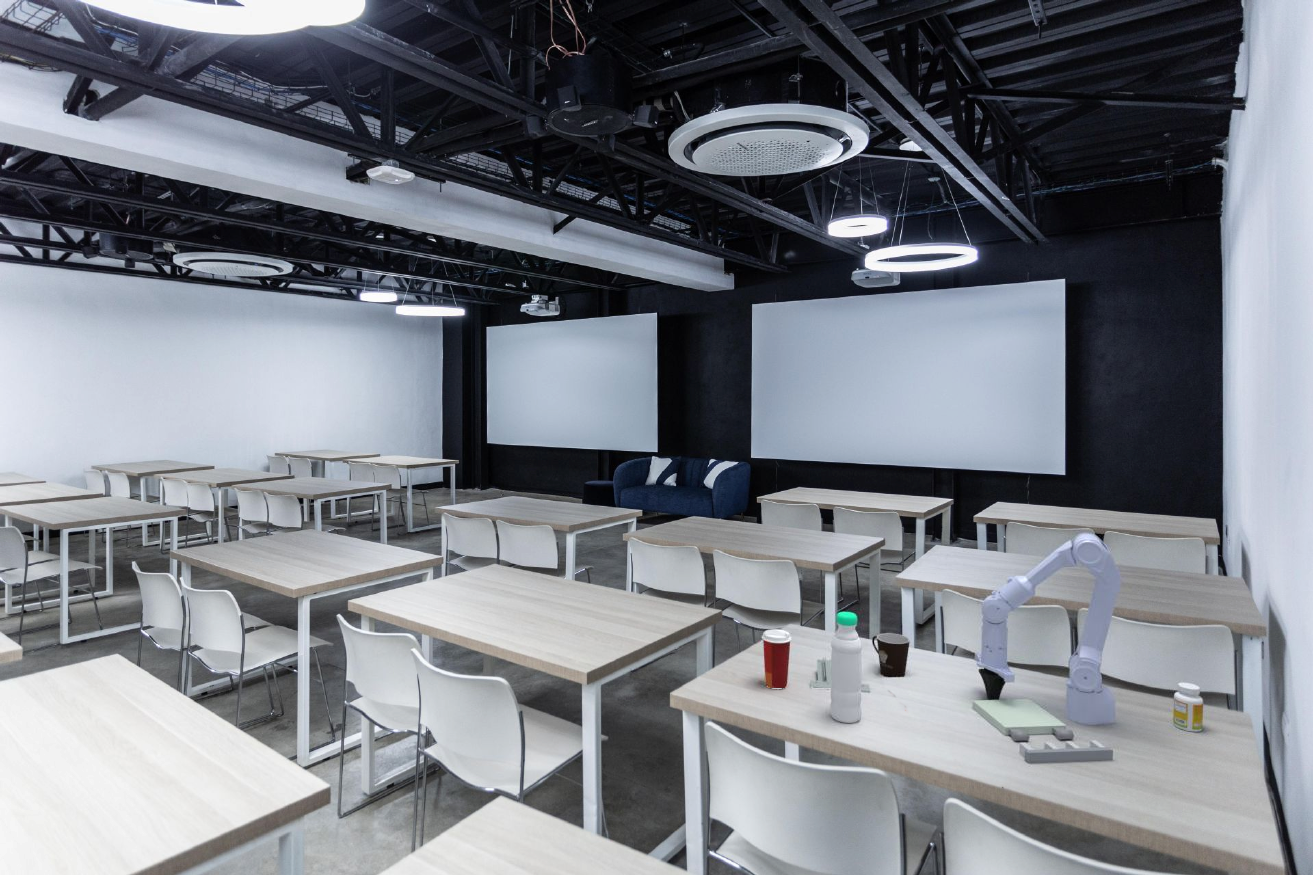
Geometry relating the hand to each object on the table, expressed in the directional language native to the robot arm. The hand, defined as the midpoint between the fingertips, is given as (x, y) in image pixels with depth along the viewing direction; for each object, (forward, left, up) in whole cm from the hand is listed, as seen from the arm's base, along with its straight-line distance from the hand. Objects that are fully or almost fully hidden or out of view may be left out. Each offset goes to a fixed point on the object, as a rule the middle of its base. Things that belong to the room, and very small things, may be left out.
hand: (993, 699), depth 173 cm
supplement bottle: (-39, +13, -2) cm, 41 cm away
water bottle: (+38, +3, -2) cm, 38 cm away
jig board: (0, +16, -2) cm, 16 cm away
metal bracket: (+33, -19, -2) cm, 38 cm away
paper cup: (+50, -17, -2) cm, 53 cm away
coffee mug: (+16, -24, -2) cm, 29 cm away
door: (0, +12, 0) cm, 12 cm away
